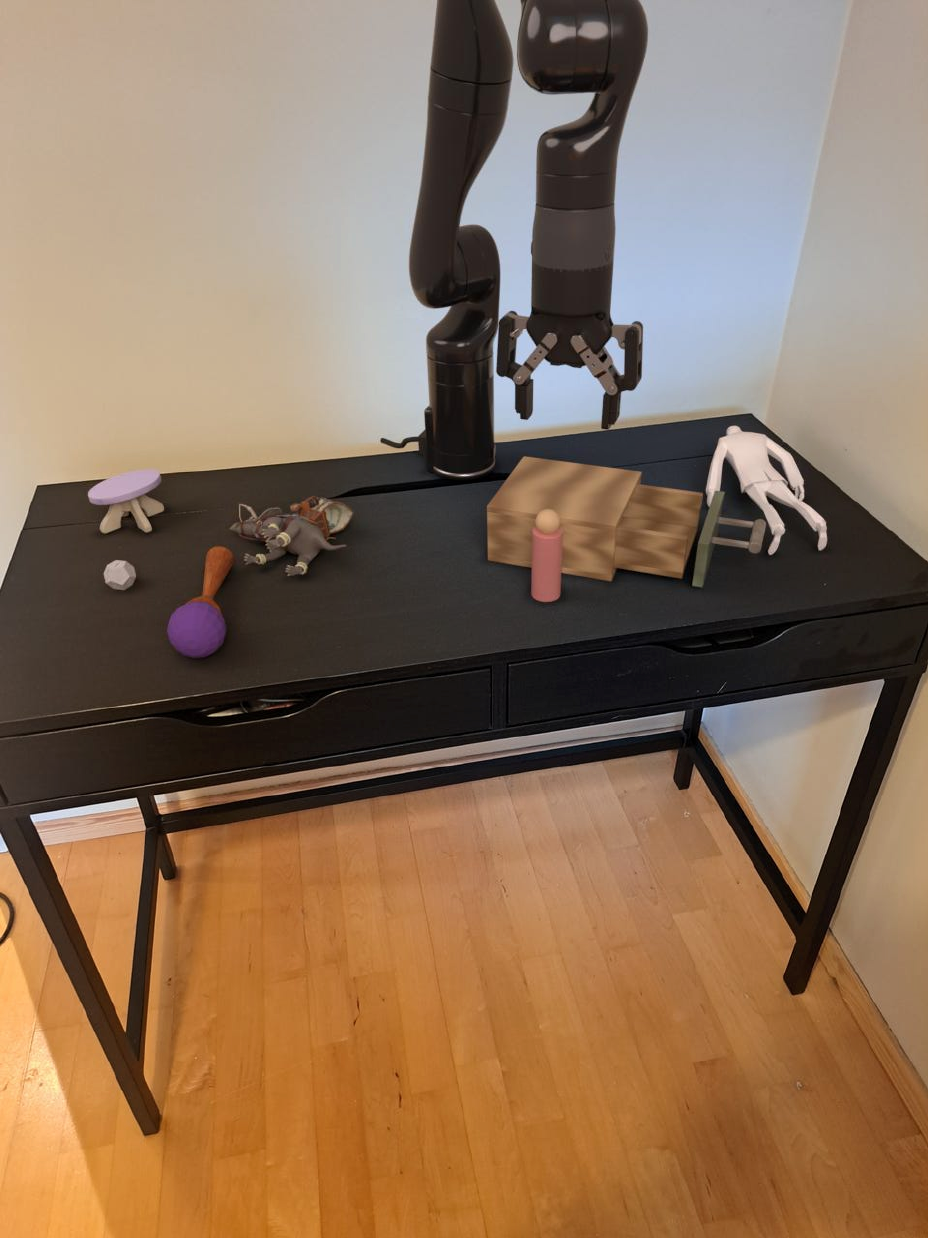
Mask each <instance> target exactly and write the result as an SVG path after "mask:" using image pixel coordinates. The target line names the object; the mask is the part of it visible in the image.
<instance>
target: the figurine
mask: <svg viewBox="0 0 928 1238" xmlns="http://www.w3.org/2000/svg"><path fill="white" fill-rule="evenodd" d="M241 507H244V508H245V509H247V511H248V512H250V514H251V516H249V518H248V519H246V520H242V518H241ZM289 509H290V512H283V510H282V509H281V508H280V507H270V508H267V509H266V510H264V511H263V512H262V513H261V514H260V515H259V516H257V514H256V512H255V511H254V509H253V508H252V506H249V505H247V504H245V503H244V504H243V503H238V511H239V513H238V515H239V520H240V521H239V522H235V523H233V524H232V525H231V526H230V528H229V531H232V532H234V533H237V535H239V536H240V538H241V537H242V538H243V539H247V540H253V541H261V542H263V543H264V542H265V543H266V544H265V546H266V549H268V553H265V554H263V553H257V554H256V555H255V556H253V555H250V554H249V553H244V554H245V556H243V561H245V562H246V563H245V565H253V564H257V565H264V564H265V563H266V562H272V561H275V560H277V559H279V558H281V557H283V556H285V555H286V553H287V552H288V553H289V554H292V555H298V556H297V560H296V564H295V565H294V566H293V565H290V564H288V565H286V568H285V573H288V574H287V577H293V576H296V575H305V574H307V570H308V566H309V565H310V563H311V562H312V560H313V559H314V558H315V557H316V556H318V554H319V552H321V550H324V551H329V552H332V551H337V550H339V549H342V548H346V547H347V544H339V545H333V544H330V541H328V540H329V539H330V540H331V539H332V540H336V539H337V538H336V537H335V536H330V535H332V534H337V533H339V532H341V531H344V529H346V527H347V526H348V525H349V523H350V521H351V520H352V518H353V516H354V511H353V510H352V509H351V508H350V506H348V505H347V504H345V503H344V502H340V501H337V500H334V501H333V500H332V499H327V498H325V497H318V496H317V495H311V496H309V497H308V498H307V499H305V500H302V501H301V502H300V503H296V502H295V503H293V504H291V505H290V506H289Z"/></svg>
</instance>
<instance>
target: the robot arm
mask: <svg viewBox="0 0 928 1238" xmlns="http://www.w3.org/2000/svg"><path fill="white" fill-rule="evenodd" d="M519 1H520V11H521V12H520V21H519V26H518V34H517V41H516V43H517V44H516V61H517V67H518V71H519V74H520V76H521V79H523V81H524V82H525V84H526V85H527V86H528V88H530V89H532V90H533V91H534V92H536V93H538V94H541V95H545V96H546V95H547V96H556V95H570V94H571V95H575V94H593V97H592V99H591V102H590V104H589V106H588V108H587V110H586V111H585V112H584V114H583V115H582V116H581V117H580V118H577V119H575V120H573V121H570V122H568V123H565V124H560V125H556V126H554V127H551V128H548V129H547V130H546V131H544V132H543V133H541V135H540V136H539V139H538V141H537V146H536V156H535V157H536V162H535V163H536V164H535V165H536V166H535V169H536V170H535V207H534V208H535V209H534V216H533V223H532V234H531V236H532V237H531V239H532V240H531V243H530V254H531V286H530V287H531V291H530V292H531V294H530V295H531V296H530V310H531V311H530V314H529V316H525V315H519V314H518V313H517V312H516V311H515V310H509V311H508V312H506V313H505V314H504V315H503V316H502V317H501V318H500V299H501V260H500V254H499V249H498V246H497V243H496V241H495V239H494V237H493V235H492V233H491V232H490V231H489V230H488V229H487V228H486V227H484V226H482V225H480V224H475V223H473V224H472V223H471V224H464V225H461V220H462V214H463V212H464V207H465V204H466V201H467V198H468V195H469V193H470V190H471V189H472V188H473V185H474V183H475V182H476V180H477V178H478V176H479V175H480V173H481V172H482V170H483V168H484V166H485V165H486V163H487V161H488V160H489V158H490V157H491V155H492V152H493V151H494V149H495V147H496V145H497V143H498V141H499V139H500V137H501V135H502V133H503V131H504V127H505V124H506V120H507V116H508V111H509V110H508V109H509V104H510V97H511V89H512V81H513V73H514V64H515V63H514V59H515V58H514V51H513V47H512V43H511V39H510V36H509V33H508V30H507V28H506V24H505V22H504V19H503V18H502V14H501V12H500V10H499V7H498V5H497V3H496V0H436V8H435V16H434V17H435V19H434V27H433V28H434V29H433V35H432V36H433V37H432V39H433V40H432V47H431V55H430V56H431V57H430V63H429V65H430V67H429V79H428V90H427V91H428V92H427V109H426V129H425V139H424V149H423V159H422V168H421V177H420V185H419V192H418V197H417V202H416V208H415V213H414V220H413V225H412V232H411V238H410V244H409V252H408V277H409V282H410V286H411V290H412V292H413V294H414V297H415V298H416V300H417V301H418V302H419V303H420V305H422V306H423V307H425V308H427V309H431V310H437V309H444V308H449V309H448V310H447V312H446V314H445V315H444V316H443V318H441V319H440V321H438V322H437V323H436V324H435V325H433V326H432V328H430V329H429V331H428V332H427V334H426V335H425V336H426V337H425V351H426V367H427V385H428V386H427V387H428V389H427V390H428V406H426V408H424V412H423V414H424V415H423V417H424V430H423V431H422V432H421V433H419V434H418V435H417V436H408V437H406V438H403V439H402V441H401V442H395V441H392V440H389V439H387V438H385V437H380V441H379V442H380V444H384V445H385V446H388V447H391V448H393V449H404V448H406V446H407V444H409V443H418V456H423V457H426V469H427V472H430V473H434V474H435V475H436V476H438V477H440V478H443V479H447V480H450V481H471V480H478V479H481V478H484V477H486V476H488V475H490V474H492V473H493V472H494V470H495V468H496V457H495V456H496V453H497V446H496V445H497V444H496V443H497V442H496V441H495V377H494V375H495V374H494V373H495V372H496V375H498V377H500V378H507V379H510V380H511V381H512V382H513V383H514V410H515V412H516V414H519V418H520V420H522V421H523V420H524V421H529V419H530V418H531V417H532V415H533V412H534V379H533V378H531V376H532V374H533V373H534V372H535V370H537V368H538V367H539V366H540V365H541V364H542V362H543V361H544V360H545V361H546V362H548V363H549V366H555V367H560V366H568V367H571V368H575V369H582V368H583V367H586V368H587V369H588V370H589V372H590V374H591V375H592V376H593V378H594V379H597V381H598V382H599V384H600V385H601V387H602V388H603V390H604V391H605V392H604V393H603V395H602V408H601V409H602V410H601V426H600V428H601V430H607V431H608V430H610V429H611V427H612V426H614V425H615V424H616V422H617V421H618V420H619V417H620V415H621V402H622V392H626V391H628V392H633V391H635V389H636V388H637V386H638V385H639V383H640V382H641V381H642V377H643V350H644V349H643V344H644V325H643V323H642V322H641V321H639V320H635V321H633V322H632V323H631V324H614V322H613V319H612V317H611V306H612V293H613V279H614V278H613V276H614V262H615V249H616V248H615V246H616V214H615V211H616V209H615V207H616V206H615V205H616V203H615V200H616V199H615V198H616V185H617V184H616V183H617V171H618V170H617V169H618V160H619V159H618V157H619V150H620V146H621V145H620V144H621V141H622V137H623V133H624V129H625V125H626V120H627V117H628V113H629V109H630V106H631V104H632V100H633V96H634V94H635V91H636V88H637V84H638V82H639V78H640V76H641V72H642V69H643V66H644V61H645V58H646V54H647V50H648V42H649V25H648V19H647V14H646V11H645V9H644V6H643V5H642V3H641V1H640V0H519ZM524 330H526V332H527V334H528V336H529V337H530V339H531V340H532V342H533V343H534V345H535V349H534V350H533V351H532V352H531V353H530V355H529V356H528V357H527V358H526V359H525V361H524V362H523V364H520V363H518V362H516V358H517V357H516V356H517V342H518V338H519V337H520V336H521V335H522V334H523V332H524ZM496 337H497V347H496V348H497V349H496V365H495V367H496V368H495V369H494V360H495V359H494V358H495V357H494V342H495V339H496ZM611 338H614V339H616V341H617V345H618V347H619V348H620V349H621V350H624V356H623V357H624V358H623V361H624V363H623V364H624V365H623V372H624V373H623V374H621V373H620V371H618V369H617V368H616V366H615V364H614V360H613V358H612V355H610V353H609V351H608V350H607V349H606V347H605V346H606V345H607V344H608V342H609V341H610V340H611ZM494 370H495V371H494Z"/></svg>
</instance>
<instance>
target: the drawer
mask: <svg viewBox="0 0 928 1238" xmlns="http://www.w3.org/2000/svg"><path fill="white" fill-rule="evenodd" d="M725 494H726V492H725V491H722V490H720V491H715V492H714V495H713V498H712V501H711V504H710V507H709V506H708V511H707V514H706V516H705V520H704V523H703V526H702V529H701V533H700V535H699V539H698V542H697V549H696V555H695V562H694V569H693V578H692V585H691V586H692V587H697V588H703V587H704V584H705V581H706V577H707V574H708V571H709V567H710V563H711V560H712V558H713V557H712V556H713V552H714V549H715V547H716V546H715V545H722V546H727V547H733V548H734V547H735V548H741V549H748V552H750V553H751V554H758V553H760V552H761V550H762V546H763V541H764V537H765V532H766V528H767V527H766V526H767V522H766V521H765V520H764V519H763V518H759V519H756V520H754V521H749V520H743V519H736V518H730V517H729V518H728V517H722V512H723V505H724V501H725ZM703 496H704V493H703V492H700V491H692V490H691V491H690V490H685V489H684V490H683V489H676V488H669V487H662V486H655V485H649V484H648V485H647V484H638V485H637V487H636V489H635V491H634V493H633V495H632V498H631V500H630V502H629V504H628V506H627V508H626V510H625V512H624V514H623V517H622V519H621V521H620V523H619V525H618V527H617V533H616V545H615V558H614V567H615V568H617V569H621V570H627V571H634V572H640V573H645V574H651V575H657V576H662V577H663V576H664V577H669V578H675V579H681V580H682V579H683V577H684V573H685V571H686V567H687V565H688V561H689V558H690V556H691V552H692V549H693V546H694V544H695V540H696V537H697V534H698V531H699V525H700V518H701V510H702V503H703ZM720 525H727V526H735V527H742V528H749V529H751V534H750V538H749V541H743V540H737V539H731V538H725V537H718V535H719V531H720Z"/></svg>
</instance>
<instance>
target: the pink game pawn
mask: <svg viewBox="0 0 928 1238" xmlns="http://www.w3.org/2000/svg"><path fill="white" fill-rule="evenodd" d="M560 523H561V520H560V516H559V515H558V513H557V512H555V511H554V510H551V509H545V510H542V511H541V512H539V513H538V515H537V517H536V520H535V524H536V526H535V527H534V528H533V530H532V568H531V582H530V583H531V584H530V587H531V588H530V594H531V597H532V598H533V599H534V600H536V601H538V602H543V603H549V602H550V603H551V602H554V601H557V600H559V598H560V597H561V589H562V573H561V569H562V544H563V530H562V528H561V527H560Z"/></svg>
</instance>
